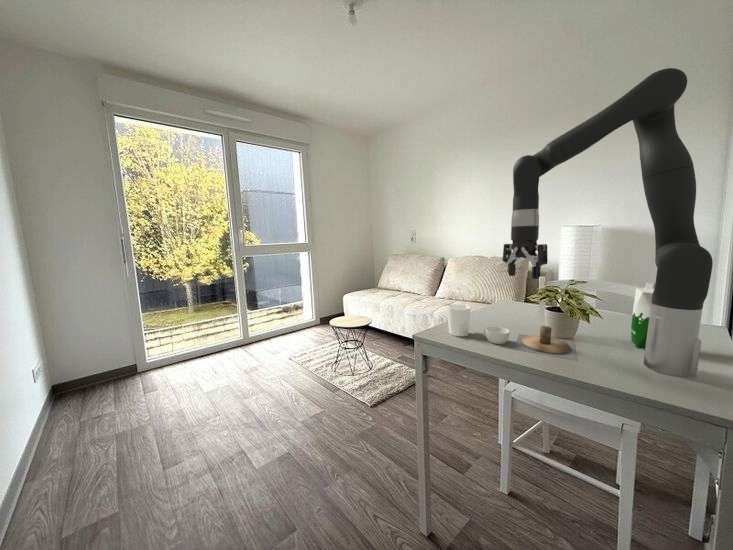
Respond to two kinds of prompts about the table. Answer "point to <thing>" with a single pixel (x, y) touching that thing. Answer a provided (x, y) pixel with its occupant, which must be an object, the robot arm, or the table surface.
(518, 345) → the mat
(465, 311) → the white cup
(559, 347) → the lid
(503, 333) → the white bowl
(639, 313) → the milk carton
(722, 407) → the table surface
